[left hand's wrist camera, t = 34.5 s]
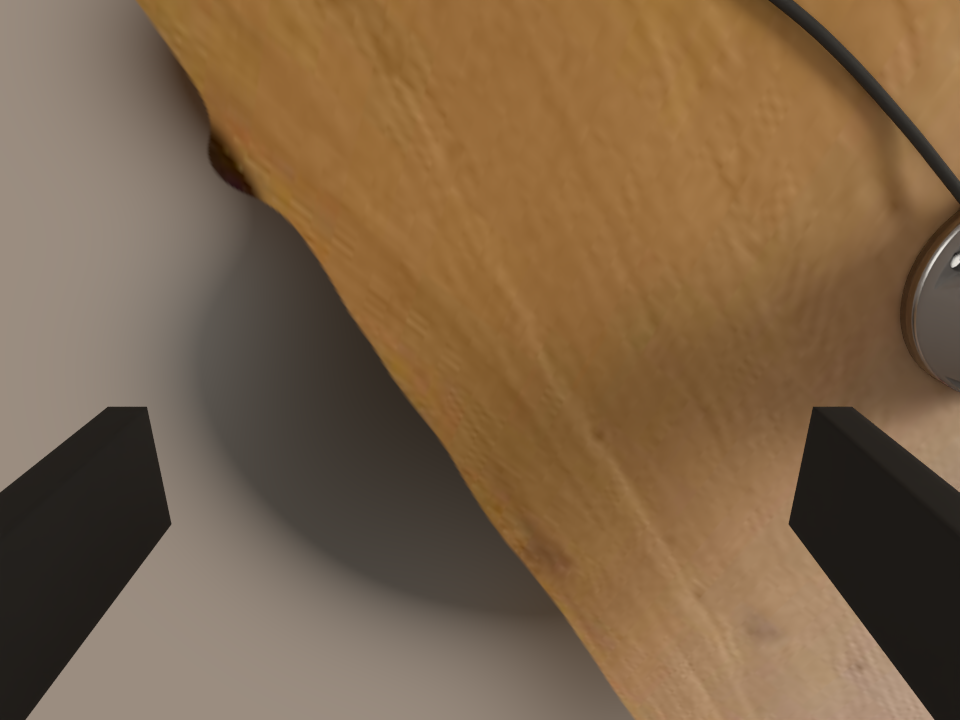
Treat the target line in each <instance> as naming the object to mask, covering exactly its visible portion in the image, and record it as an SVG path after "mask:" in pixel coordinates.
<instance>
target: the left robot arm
mask: <svg viewBox="0 0 960 720" xmlns="http://www.w3.org/2000/svg"><path fill="white" fill-rule="evenodd" d="M769 1H770V2H772V3H773V4H774V5H775V6H777V7H778V8H779V9H780V10H782V11H783V12H784V13H785V14H787V15H788V16H789V17H790V18H792V19H793V20H794V21H795V22H797V23H798V24H799V25H800V26H801V27H802V28H804V29H805V30H806V31H807V32H808V33H809V34H810V35H811V36H813V37H814V38H815V39H816V40H817V41H818V42H819V43H820V44H821V45H822V46H823V47H824V48H825V49H826V50H827V51H828V52H829V53H830V54H831V55H832V56H834V57H835V58H836V59H837V60H838V61H839V62H840V63H841V64H842V66H843V67H844V68H845V69H846V70H847V71H848V72H849V73H850V74H851V75H852V76H853V77H854V78H855V79H856V80H857V81H858V82H859V83H860V84H861V86H862V87H863V88H864V89H865V90H866V91H867V92H868V93H869V94H870V95H871V97H872V98H873V99H874V100H875V101H876V102H877V103H878V105H879V106H880V107H881V108H882V109H883V110H884V111H885V113H886V114H887V115H888V116H889V117H890V118H891V119H892V121H893V122H894V123H895V124H896V125H897V126H898V128H899V129H900V130H901V131H902V132H903V133H904V135H905V136H906V137H907V138H908V139H909V141H910V142H911V143H912V144H913V145H914V147H915V148H916V149H917V150H918V152H919V153H920V154H921V156H922V157H923V158H924V159H925V161H926V162H927V163H928V164H929V166H930V167H931V168H932V170H933V171H934V172H935V173H936V175H937V176H938V177H939V178H940V180H941V181H942V182H943V183H944V185H945V186H946V187H947V188H948V190H949V191H950V192H951V194H952V195H953V196H954V197H955V199H956V200H957V201H958V202H959V204H960V181H959V180H958V179H957V177H956V176H955V175H954V174H953V172H952V171H951V170H950V169H949V167H948V166H947V165H946V163H945V162H944V161H943V160H942V158H941V157H940V156H939V155H938V153H937V152H936V151H935V149H934V148H933V147H932V146H931V144H930V143H929V142H928V141H927V139H926V138H925V137H924V136H923V134H922V133H921V132H920V131H919V130H918V128H917V127H916V126H915V125H914V124H913V122H912V121H911V120H910V119H909V118H908V117H907V115H906V114H905V113H904V112H903V111H902V110H901V108H900V107H899V106H898V105H897V104H896V103H895V101H894V100H893V99H892V98H891V97H890V96H889V94H888V93H887V92H886V91H885V90H884V89H883V88H882V86H881V85H880V84H879V83H878V82H877V81H876V80H875V79H874V77H873V76H872V75H871V74H870V73H869V72H868V71H867V70H866V69H865V68H864V67H863V66H862V64H861V63H860V62H859V61H858V60H857V59H856V58H855V57H854V56H853V55H852V54H851V53H850V52H849V51H848V50H847V49H846V48H845V47H844V46H843V45H842V44H841V43H840V42H839V41H838V40H837V39H836V38H835V37H834V36H833V35H832V34H831V33H830V32H829V31H828V30H827V29H825V28H824V27H823V26H822V25H821V24H820V23H819V22H818V21H817V20H816V19H814V18H813V17H812V16H811V15H810V14H809V13H807V12H806V11H805V10H804V9H803V8H801V7H800V6H799V5H798V4H797V3H795V2H794V1H793V0H769ZM901 328H902V333H903V337H904V340H905V343H906V346H907V348H908V350H909V352H910V354H911V355H912V357H913V358H914V360H915V361H916V362H917V364H918V365H919V366H920V367H921V368H922V369H923V370H924V371H925V372H927V373H928V374H929V375H931V376H932V377H934V378H935V379H937V380H939V381H940V382H942V383H944V384H945V385H947V386H949V387H951V388H952V389H954V390H956V391H958V392H960V210H959V211H958V212H957V213H955V214H954V215H953V216H952V217H951V218H949V219H948V220H947V221H946V222H945V223H944V224H943V225H942V226H941V227H940V228H939V229H938V230H937V231H936V233H935V234H934V235H933V236H932V237H931V238H930V240H929V241H928V242H927V244H926V245H925V246H924V248H923V249H922V251H921V252H920V254H919V255H918V257H917V259H916V261H915V263H914V265H913V266H912V269H911V271H910V273H909V276H908V278H907V281H906V284H905V287H904V291H903V296H902V302H901ZM170 525H171V520H170V515H169V510H168V506H167V501H166V496H165V491H164V487H163V482H162V477H161V472H160V467H159V462H158V458H157V453H156V448H155V443H154V439H153V434H152V429H151V424H150V420H149V415H148V410H147V407H107V408H106V409H105V410H103V411H102V412H101V413H100V414H98V415H97V416H96V417H95V418H93V419H92V420H91V421H90V422H88V423H87V424H86V425H85V426H83V427H82V428H81V429H80V430H78V431H77V432H76V433H75V434H73V435H72V436H71V437H69V438H68V439H67V440H66V441H64V442H63V443H62V444H61V445H59V446H58V447H57V448H56V449H54V450H53V451H52V452H51V453H49V454H48V455H47V456H46V457H44V458H43V459H42V460H41V461H39V462H38V463H37V464H36V465H34V466H33V467H32V468H31V469H29V470H28V471H27V472H25V473H24V474H23V475H22V476H20V477H19V478H18V479H17V480H15V481H14V482H13V483H12V484H10V485H9V486H8V487H7V488H5V489H4V490H3V491H2V492H0V720H26V718H27V717H28V716H29V714H30V713H31V711H32V710H33V709H34V708H35V706H36V705H37V704H38V702H39V701H40V699H41V698H42V697H43V695H44V694H45V693H46V691H47V690H48V689H49V687H50V686H51V685H52V683H53V682H54V681H55V679H56V678H57V677H58V675H59V674H60V673H61V671H62V670H63V669H64V667H65V666H66V665H67V663H68V662H69V661H70V659H71V658H72V657H73V655H74V654H75V653H76V651H77V650H78V648H79V647H80V646H81V645H82V643H83V642H84V640H85V639H86V638H87V637H88V635H89V634H90V632H91V631H92V630H93V628H94V627H95V626H96V624H97V623H98V622H99V620H100V619H101V618H102V616H103V615H104V614H105V612H106V611H107V610H108V608H109V607H110V606H111V604H112V603H113V602H114V600H115V599H116V598H117V596H118V595H119V594H120V592H121V591H122V590H123V588H124V587H125V586H126V584H127V583H128V582H129V580H130V579H131V578H132V576H133V575H134V574H135V572H136V571H137V570H138V568H139V567H140V566H141V564H142V563H143V561H144V560H145V559H146V557H147V556H148V555H149V554H150V552H151V551H152V549H153V548H154V547H155V545H156V544H157V543H158V541H159V540H160V539H161V537H162V536H163V535H164V533H165V532H166V531H167V529H168V528H169V527H170ZM789 525H790V527H791V528H792V529H793V531H794V532H795V533H796V535H797V536H798V537H799V539H800V540H801V541H802V543H803V544H804V545H805V547H806V548H807V549H808V551H809V552H810V554H811V555H812V556H813V558H814V559H815V560H816V562H817V563H818V564H819V566H820V567H821V568H822V570H823V571H824V572H825V574H826V575H827V576H828V578H829V579H830V580H831V582H832V583H833V584H834V586H835V587H836V588H837V590H838V591H839V592H840V594H841V595H842V596H843V598H844V599H845V600H846V602H847V603H848V604H849V606H850V607H851V608H852V610H853V611H854V612H855V614H856V615H857V616H858V618H859V619H860V620H861V622H862V623H863V624H864V626H865V627H866V629H867V630H868V631H869V633H870V634H871V635H872V637H873V638H874V639H875V641H876V642H877V643H878V645H879V646H880V647H881V649H882V650H883V651H884V653H885V654H886V655H887V657H888V658H889V659H890V661H891V662H892V663H893V665H894V666H895V667H896V669H897V670H898V671H899V673H900V674H901V675H902V677H903V678H904V679H905V681H906V682H907V683H908V685H909V686H910V687H911V689H912V690H913V691H914V693H915V694H916V695H917V697H918V698H919V699H920V701H921V702H922V704H923V705H924V706H925V708H926V709H927V710H928V712H929V713H930V714H931V716H932V717H933V718H934V720H960V492H958V491H957V490H956V489H955V488H953V487H952V486H951V485H950V484H948V483H947V482H946V481H945V480H943V479H942V478H941V477H940V476H938V475H937V474H936V473H935V472H933V471H932V470H931V469H930V468H928V467H927V466H926V465H924V464H923V463H922V462H921V461H919V460H918V459H917V458H916V457H914V456H913V455H912V454H911V453H909V452H908V451H907V450H906V449H904V448H903V447H902V446H901V445H899V444H898V443H897V442H896V441H894V440H893V439H892V438H891V437H889V436H888V435H887V434H886V433H884V432H883V431H882V430H880V429H879V428H878V427H877V426H875V425H874V424H873V423H872V422H870V421H869V420H868V419H867V418H865V417H864V416H863V415H862V414H860V413H859V412H858V411H857V410H855V409H854V408H853V407H813V410H812V415H811V419H810V424H809V429H808V434H807V439H806V443H805V448H804V453H803V458H802V462H801V467H800V472H799V477H798V482H797V486H796V491H795V496H794V501H793V506H792V510H791V515H790V520H789Z"/></svg>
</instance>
